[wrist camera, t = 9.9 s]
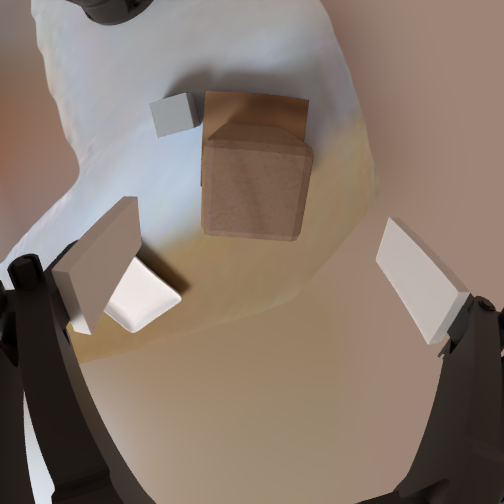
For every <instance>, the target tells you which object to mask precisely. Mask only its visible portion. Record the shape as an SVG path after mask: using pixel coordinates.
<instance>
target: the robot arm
mask: <svg viewBox="0 0 504 504" xmlns="http://www.w3.org/2000/svg"><path fill="white" fill-rule="evenodd" d="M66 1H69V2H72V3H74V4H77V5H79V6H81V7H82V9H83V11H84V12H85V14H86V15H87V17H88V18H89V19H90V20H92V21H94V22H96V23H98V24H101V25H117V24H120V23H123V22H126V21H128V20H130V19H132V18H134V17H136V16H137V15H138V14H140V13H141V12H142V11H144V10H145V9H146V8H147V7H148V6H149V5H150V4H151V2H152V1H153V0H66ZM141 246H142V241H141V232H140V222H139V211H138V198H137V197H123V198H122V199H121V200H119V201H118V202H117V203H116V204H115V205H114V206H113V207H112V208H111V209H110V210H109V211H107V212H106V213H105V214H104V215H103V216H102V217H101V218H100V219H99V220H98V221H97V222H96V223H95V224H94V225H93V226H92V227H91V228H90V229H89V230H88V231H87V232H86V233H85V234H84V235H83V236H82V237H81V238H80V239H79V240H76V241H74V242H72V243H71V244H69V245H68V246H67V247H66V248H65V249H64V250H63V251H62V253H60V254H59V255H58V256H57V259H55V260H54V261H53V262H52V263H51V264H50V265H49V266H48V267H47V269H46V270H45V271H44V272H43V269H42V266H41V263H40V259H39V257H38V255H36V254H26V255H22V256H20V257H18V258H16V259H15V260H14V261H12V263H11V264H10V265H9V266H8V269H7V271H8V273H9V276H10V278H11V281H12V283H13V286H14V288H15V289H13V290H5V288H4V286H3V284H2V282H1V280H0V504H35V500H34V496H33V492H32V487H31V482H30V476H29V470H28V463H27V456H26V446H25V435H24V410H23V398H24V392H25V396H26V401H27V405H28V410H29V413H30V418H31V421H32V425H33V428H34V432H35V435H36V438H37V441H38V444H39V447H40V450H41V453H42V456H43V458H44V461H45V464H46V466H47V469H48V471H49V474H50V476H51V478H52V481H53V483H54V487H55V491H54V493H53V494H52V496H51V498H52V504H156V503H155V502H154V501H153V500H152V498H151V497H149V496H148V494H147V493H146V492H145V491H144V490H143V488H142V487H141V485H140V484H139V482H138V481H137V479H136V478H135V476H134V475H133V473H132V472H131V470H130V469H129V467H128V466H127V464H126V462H125V461H124V459H123V457H122V456H121V454H120V452H119V451H118V449H117V447H116V445H115V444H114V442H113V440H112V438H111V436H110V434H109V433H108V430H107V428H106V427H105V425H104V423H103V421H102V419H101V416H100V414H99V412H98V410H97V408H96V406H95V404H94V401H93V399H92V397H91V394H90V392H89V390H88V387H87V385H86V382H85V380H84V377H83V375H82V372H81V369H80V367H79V364H78V361H77V358H76V355H75V352H74V349H73V346H72V343H71V340H70V337H69V333H68V331H67V329H66V326H67V324H68V322H69V321H71V324H72V326H73V328H74V330H75V331H76V332H80V333H85V334H90V335H91V334H92V332H93V330H94V328H95V326H96V325H97V323H98V321H99V319H100V317H101V315H102V313H103V311H104V309H105V307H106V306H107V304H108V302H109V300H110V298H111V296H112V295H113V293H114V291H115V289H116V287H117V286H118V284H119V282H120V280H121V279H122V277H123V275H124V274H125V272H126V270H127V269H128V267H129V265H130V264H131V262H132V260H133V259H134V257H135V255H136V254H137V252H138V251H139V249H140V247H141ZM376 262H377V263H378V265H379V266H380V268H381V269H382V271H383V272H384V274H385V275H386V276H387V278H388V280H389V281H390V283H391V284H392V286H393V287H394V289H395V290H396V292H397V294H398V295H399V297H400V298H401V300H402V301H403V303H404V305H405V306H406V308H407V309H408V311H409V313H410V314H411V316H412V318H413V320H414V321H415V323H416V324H417V326H418V328H419V330H420V332H421V333H422V335H423V337H424V339H425V340H426V342H427V344H428V345H429V344H435V343H440V342H441V341H442V339H443V337H444V336H445V334H446V333H448V334H449V336H450V339H449V340H448V342H447V343H446V345H445V346H444V347H443V349H442V350H441V352H440V353H439V355H438V357H440V356H441V355H442V354H444V357H443V365H442V369H441V374H440V379H439V383H438V388H437V391H436V396H435V399H434V403H433V406H432V410H431V414H430V417H429V420H428V423H427V426H426V429H425V432H424V435H423V438H422V440H421V443H420V446H419V449H418V451H417V454H416V456H415V459H414V461H413V463H412V466H411V468H410V470H409V472H408V474H407V476H406V477H405V478H404V479H403V480H402V482H400V484H399V485H397V487H396V488H395V489H394V490H393V492H391V493H388V494H385V495H382V496H379V497H376V498H372V499H369V500H365V501H362V502H359V503H356V504H504V356H503V357H501V352H502V351H503V349H504V308H503V309H502V311H501V312H497V311H496V309H495V307H494V305H493V304H492V303H491V302H490V301H489V300H487V299H485V298H483V297H481V296H476V297H475V298H474V297H473V296H472V294H471V293H470V291H469V290H468V288H467V287H466V286H465V285H464V284H463V283H462V281H461V280H460V279H459V278H458V277H457V276H456V275H455V273H454V272H453V271H452V270H451V269H450V268H449V267H448V266H447V265H446V264H445V263H444V262H443V261H442V259H441V258H440V257H439V256H438V255H437V254H436V253H435V252H434V251H433V250H432V249H431V248H430V247H429V246H428V245H427V244H426V243H425V242H424V241H423V240H422V239H421V238H420V237H419V236H418V235H417V234H416V233H415V232H414V231H413V230H412V229H411V228H410V227H409V226H408V225H406V224H405V223H404V222H403V221H402V220H401V219H400V218H394V217H389V219H388V222H387V225H386V229H385V232H384V235H383V238H382V241H381V244H380V248H379V251H378V254H377V257H376Z"/></svg>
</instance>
